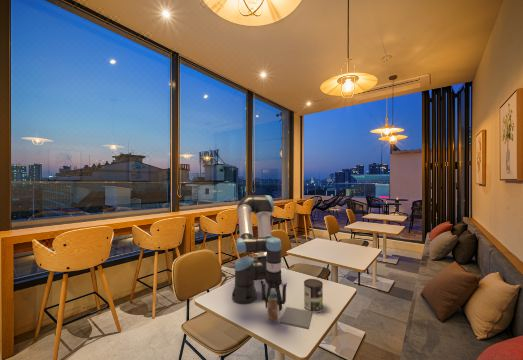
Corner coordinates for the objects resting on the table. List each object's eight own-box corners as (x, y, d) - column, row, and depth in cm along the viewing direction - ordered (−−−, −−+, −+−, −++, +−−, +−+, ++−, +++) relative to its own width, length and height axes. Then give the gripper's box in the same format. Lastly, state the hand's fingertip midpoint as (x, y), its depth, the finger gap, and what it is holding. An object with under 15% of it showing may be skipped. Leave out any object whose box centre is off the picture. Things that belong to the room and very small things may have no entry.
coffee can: (325, 306, 131) (325, 281, 131) (319, 315, 122) (319, 288, 122) (308, 301, 136) (307, 277, 136) (301, 309, 127) (301, 283, 127)
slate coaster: (280, 323, 115) (280, 321, 115) (286, 308, 128) (286, 306, 128) (308, 329, 111) (308, 327, 111) (312, 313, 124) (312, 311, 124)
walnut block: (268, 319, 115) (268, 297, 114) (270, 313, 119) (270, 292, 119) (276, 320, 113) (276, 298, 113) (279, 315, 118) (279, 294, 117)
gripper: (254, 270, 115) (254, 315, 115) (289, 275, 109) (289, 323, 110) (259, 264, 122) (259, 307, 123) (292, 269, 116) (292, 314, 117)
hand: (273, 314), depth 116 cm, fingers closed on walnut block, 4 cm apart
